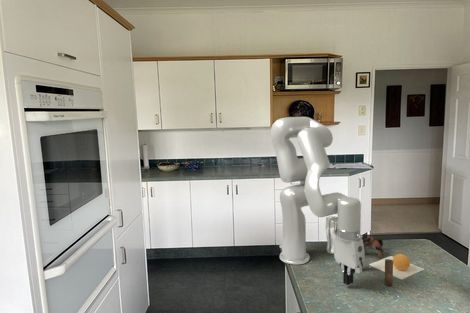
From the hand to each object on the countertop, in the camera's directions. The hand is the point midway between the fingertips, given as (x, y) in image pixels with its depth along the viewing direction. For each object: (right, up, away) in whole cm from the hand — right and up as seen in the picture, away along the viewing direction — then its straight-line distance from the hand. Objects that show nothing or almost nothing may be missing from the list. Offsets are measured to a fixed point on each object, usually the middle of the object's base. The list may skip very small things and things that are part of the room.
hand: (348, 283), depth 113 cm
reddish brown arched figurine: (+20, +2, +26) cm, 33 cm away
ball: (+24, +4, +11) cm, 27 cm away
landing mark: (+24, +1, +13) cm, 27 cm away
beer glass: (+4, +2, +30) cm, 30 cm away
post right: (+15, -1, +1) cm, 15 cm away
